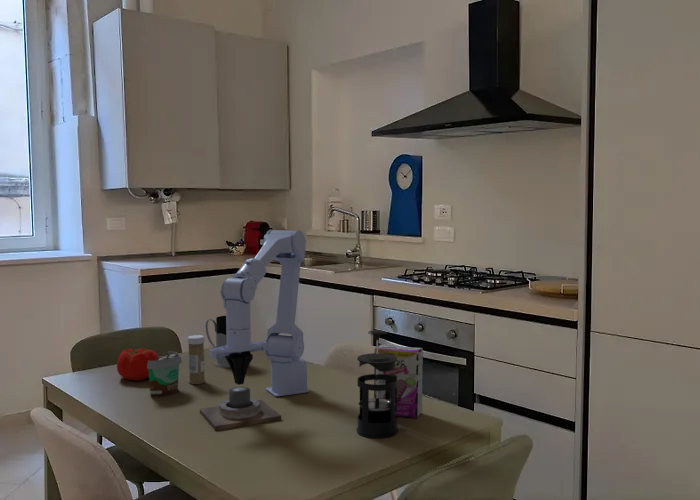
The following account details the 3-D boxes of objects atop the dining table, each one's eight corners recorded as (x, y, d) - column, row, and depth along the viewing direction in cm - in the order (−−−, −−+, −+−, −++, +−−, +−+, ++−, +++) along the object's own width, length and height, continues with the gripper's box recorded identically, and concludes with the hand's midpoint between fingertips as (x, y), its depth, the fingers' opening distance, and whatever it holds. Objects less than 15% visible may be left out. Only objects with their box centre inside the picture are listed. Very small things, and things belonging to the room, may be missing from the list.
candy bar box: (373, 414, 160) (373, 348, 159) (379, 408, 165) (379, 343, 164) (418, 419, 157) (418, 351, 155) (422, 413, 161) (423, 347, 160)
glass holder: (229, 368, 204) (228, 321, 203) (196, 362, 212) (196, 316, 210) (248, 362, 211) (247, 316, 210) (216, 357, 219) (215, 312, 218)
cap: (244, 407, 163) (244, 385, 162) (253, 412, 159) (253, 390, 158) (225, 411, 160) (225, 388, 159) (235, 416, 156) (234, 393, 155)
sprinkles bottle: (208, 382, 189) (207, 336, 188) (194, 385, 185) (193, 338, 184) (199, 379, 192) (198, 334, 191) (185, 382, 189) (184, 336, 188)
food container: (169, 399, 173) (168, 362, 172) (147, 398, 174) (146, 361, 173) (189, 386, 185) (189, 351, 184) (169, 385, 186) (168, 350, 185)
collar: (261, 403, 169) (261, 392, 169) (281, 419, 157) (281, 407, 156) (199, 412, 162) (199, 400, 162) (215, 430, 149) (215, 417, 149)
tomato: (170, 376, 196) (169, 347, 195) (136, 386, 185) (135, 356, 185) (141, 370, 202) (140, 343, 202) (107, 379, 192) (106, 351, 191)
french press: (379, 442, 142) (379, 337, 140) (346, 432, 148) (345, 331, 146) (410, 428, 151) (411, 329, 149) (377, 419, 157) (378, 324, 155)
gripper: (257, 321, 165) (258, 375, 166) (203, 328, 157) (204, 384, 158) (271, 326, 159) (271, 381, 161) (215, 333, 151) (217, 391, 152)
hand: (239, 383), depth 159 cm, fingers closed
